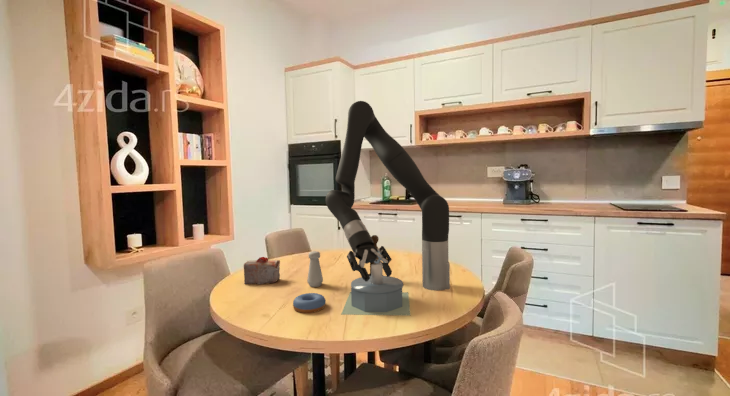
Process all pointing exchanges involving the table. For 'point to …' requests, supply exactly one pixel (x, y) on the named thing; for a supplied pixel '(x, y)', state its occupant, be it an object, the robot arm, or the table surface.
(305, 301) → the doughnut
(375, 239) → the dark brown tall piece
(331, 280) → the table surface
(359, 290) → the food cover
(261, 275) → the food item
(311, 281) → the salt shaker
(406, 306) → the rubber mat
